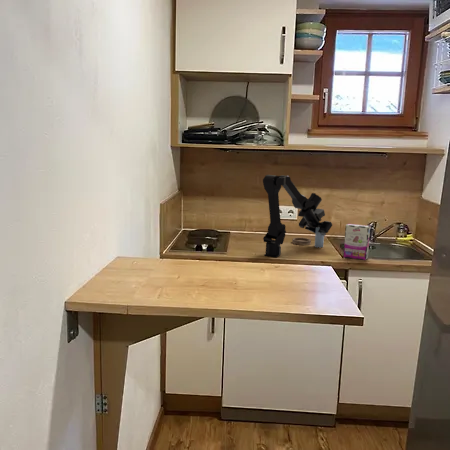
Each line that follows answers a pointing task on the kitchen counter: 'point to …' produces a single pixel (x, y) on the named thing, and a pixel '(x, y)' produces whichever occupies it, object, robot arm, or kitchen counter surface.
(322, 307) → the kitchen counter surface
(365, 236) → the candy bar box
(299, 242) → the walnut tray
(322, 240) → the bead jar
